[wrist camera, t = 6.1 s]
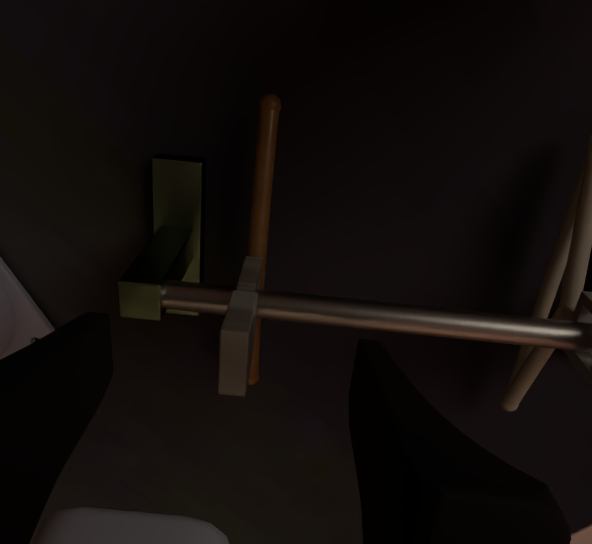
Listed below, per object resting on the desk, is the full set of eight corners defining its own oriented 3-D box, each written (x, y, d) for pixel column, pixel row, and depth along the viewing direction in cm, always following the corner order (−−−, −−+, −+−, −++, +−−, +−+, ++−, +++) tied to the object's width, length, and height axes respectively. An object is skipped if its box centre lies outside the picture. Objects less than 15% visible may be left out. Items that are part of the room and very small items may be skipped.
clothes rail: (609, 349, 24) (692, 442, 19) (159, 303, 24) (115, 384, 19) (671, 207, 21) (791, 269, 16) (156, 152, 21) (102, 197, 16)
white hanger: (512, 404, 24) (591, 557, 17) (495, 402, 24) (568, 555, 17) (610, 128, 19) (783, 190, 12) (588, 126, 19) (749, 187, 12)
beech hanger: (259, 378, 24) (236, 523, 17) (242, 376, 24) (212, 520, 17) (282, 93, 19) (262, 135, 12) (260, 90, 19) (228, 132, 12)
